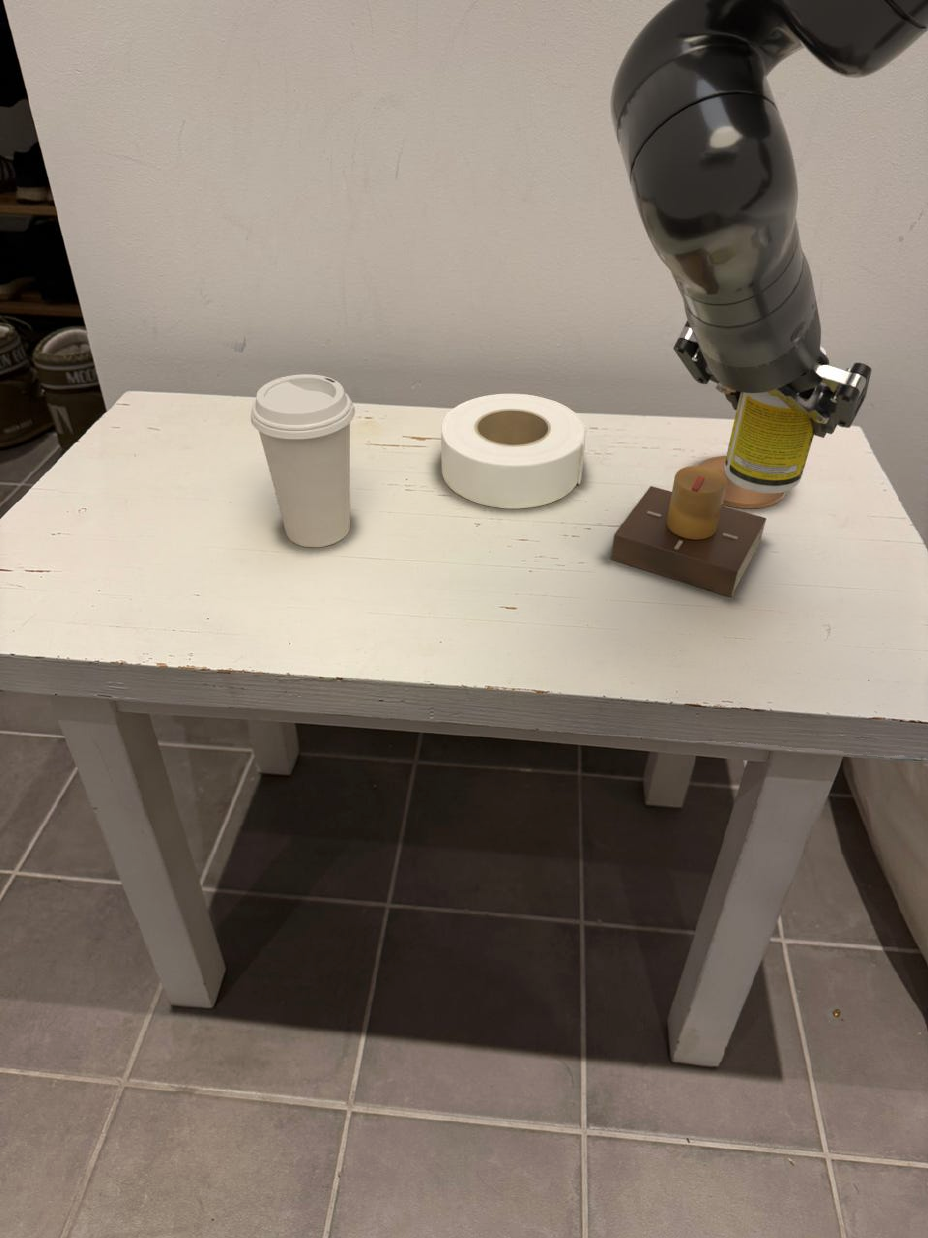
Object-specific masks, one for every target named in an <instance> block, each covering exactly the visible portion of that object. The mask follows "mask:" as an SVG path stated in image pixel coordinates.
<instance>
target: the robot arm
mask: <svg viewBox="0 0 928 1238" xmlns="http://www.w3.org/2000/svg"><path fill="white" fill-rule="evenodd" d="M927 32H928V0H671V1H669V2H668V3H667V4H666V5H665V6H664V7H662V9H660V10H659V11H657V13H655V15H654V16H653V17H652V18H650V20H649V21H648V22H647V23H646V24H644V26H643V28H642V29H641V30H640V32H638V34H637V36H636V37H635V38H634V39H633V41H632V42H631V44H630V46H629V47H628V48H627V50H626V51H627V52H626V53H625V55H624V57H623V58H622V60H621V63H620V65H619V67H618V69H617V72H616V74H615V77H614V81H613V84H612V87H611V94H610V104H609V105H610V117H611V122H612V127H613V130H614V134H615V137H616V141H617V144H618V146H619V147H618V148H619V150H620V154H621V157H622V161H623V164H624V168H625V171H626V174H627V178H628V181H629V184H630V188H631V192H632V196H633V199H634V203H635V205H636V209H637V212H638V215H639V217H640V220H641V222H642V225H643V228H644V230H645V232H646V234H647V237H648V239H649V242H650V243H651V245H652V247H653V249H654V251H655V253H656V255H657V256H658V258H659V259H660V260H661V262H662V263H663V264H664V266H666V267H667V268H668V269H669V270H670V273H671V275H672V278H673V280H674V282H675V285H676V287H677V289H678V291H679V293H680V295H681V298H682V300H683V301H682V302H683V306H684V307H683V308H684V313H685V315H686V319H687V320H686V322H685V323H684V326H683V328H682V330H681V331H680V333H679V335H678V337H677V339H676V342H675V343H674V346H673V351H674V353H675V354H676V355H677V357H678V358H679V359H680V361H681V363H682V364H683V366H684V367H685V368H686V370H687V371H688V372H689V374H690V375H691V377H692V378H693V379H694V380H695V382H697V383H698V384H700V385H701V384H702V385H708V383H709V382H710V381H711V382H713V383H715V384H716V385H715V389H716V390H717V391H718V392H719V393H721V394H724V396H725V399H726V401H728V402H729V404H731V407H732V409H733V410H734V411H737V406H738V402H739V397H740V393H741V392H744V393H762V392H768V393H769V394H770V395H771V396H778V397H779V398H780V399H781V400H782V401H783V402H784V403H785V404H786V405H787V406H789V407H790V408H791V409H792V410H793V411H796V412H805V413H806V414H807V415H808V416H809V417H811V419H810V420H811V424H812V428H813V431H814V436H815V437H818V438H822V439H824V438H825V437H826V435H827V434H829V435H832V434H834V432H835V431H836V429H837V427H841V428H847V429H850V428H851V426H852V424H853V423H854V421H855V418H856V417H857V415H858V413H859V411H860V410H861V407H862V405H863V403H864V401H865V399H866V397H867V394H868V388H869V385H870V381H871V380H870V379H871V374H872V367H870V366H869V365H868V364H866V363H862V362H854V363H853V365H852V367H851V368H850V367H847V368H845V369H841V368H838V367H836V366H832V365H830V360H829V357H828V356H827V354H826V355H825V354H824V353H823V352H822V351H821V350H820V346H821V344H822V343H821V341H822V327H821V325H822V324H821V321H820V319H821V318H820V313H819V309H818V304H817V303H818V301H817V298H816V292H815V285H814V281H813V274H812V272H811V271H812V270H811V267H810V264H809V261H808V259H807V257H806V254H805V252H804V251H803V248H802V243H801V237H800V232H799V231H800V230H799V227H798V220H797V210H798V200H799V188H798V187H799V185H798V178H797V171H796V165H795V161H794V160H795V159H794V155H793V150H792V147H791V143H790V139H789V136H788V132H787V130H786V127H785V124H784V122H783V119H782V116H781V113H780V110H779V108H778V105H777V102H776V99H775V98H774V94H773V92H772V89H771V86H770V84H769V81H768V76H769V75H770V73H771V72H772V71H773V70H775V68H776V67H777V66H778V65H779V64H780V63H782V62H783V61H784V60H786V59H787V58H789V57H790V56H792V55H793V54H795V53H797V52H799V51H801V50H803V49H805V50H806V51H807V52H808V53H809V54H810V55H811V56H812V57H813V58H814V59H815V60H816V61H817V62H819V63H820V64H821V65H822V66H823V67H825V68H826V69H828V70H830V71H831V72H832V73H834V74H837V75H839V76H841V77H845V78H848V79H860V78H866V77H868V76H871V75H873V74H876V73H878V72H879V71H880V70H882V69H884V68H885V67H886V66H888V65H889V64H890V63H892V62H893V61H895V60H896V59H897V58H898V57H900V56H901V55H902V54H903V53H904V52H906V50H908V49H909V48H910V47H912V46H913V45H914V44H915V43H917V41H918V40H919V39H920V38H921V37H923V35H925V34H926V33H927ZM797 393H799V394H797ZM821 393H822V394H823V395H822V397H821V399H820V401H819V403H818V404H817V400H818V398H819V396H820V394H821Z"/></svg>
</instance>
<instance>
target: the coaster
mask: <svg viewBox="0 0 928 1238" xmlns="http://www.w3.org/2000/svg"><path fill="white" fill-rule="evenodd" d="M726 456H727V455H719V456H714V457H710V458H707V459H705V460H703V461H701V462H700V463H698V464H697V466H702V467H708V468H711V469H714V470H716V471H718V472H720V473H721V474H723V475H724V476H725V478H726V479H727V487H726V492H725V496H724V500H723V506H727V507H731V508H737V509H738V508H739V509H762V508H767V507H770V506H773V505H775V504H777V503H779V502H781V501H782V500H783V499H784V497H785V496H786V493H787V491H786V492H782V493H759V492H754V491H750V490H746V489H744V488H741V487H739V486H737V485H736V484H734V483H733V482H732V481H731V480H730V479H729V478H728V477H727V475H726V473H725V461H726Z"/></svg>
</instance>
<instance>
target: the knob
mask: <svg viewBox="0 0 928 1238" xmlns="http://www.w3.org/2000/svg"><path fill="white" fill-rule="evenodd" d="M672 484H673V485H672V489H671V492H672V494H671V500H670V505H669V510H668V516H667V521H666V523H667V527H668V528H669V530H670V531H672V532H673V533H674V534H676V535H678V536H680V537H683V538H687V539H705V538H708V537H711V536H712V535H714V533H715V532H716V530H717V526H718V522H719V518H720V513H721V509H722V506H724V504H723V500H724V496H725V492H726V487H727V479H726V478H725V476H724V475H723V474H721V473H720V472H718V471H716V470H714V469H711V468H708V467H702V466H698V465H689V466H686V467H685V466H684V467H683V468H680V469H679V470H677V471H676V473H675V475H674V479H673V483H672Z"/></svg>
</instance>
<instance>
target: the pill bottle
mask: <svg viewBox="0 0 928 1238" xmlns="http://www.w3.org/2000/svg"><path fill="white" fill-rule="evenodd" d="M820 350H821V351H822V352H823V353H824V354H825V355H826V356H827V352H826V350H825V348H824V347H822V346H821V345H820ZM797 394H799V393H797ZM822 395H823V394H822V393H821V394H820V396H819V398H818V400H817V404H818V403H819V401H820V399H821V397H822ZM735 411H736V412H735V415H734V421H733V425H732V429H731V434H730V438H729V442H728V446H727V451H726V455H725V456H726V461H725V473H726V475H727V477H728V478H729V479H730V480H731V481H732V482H733V483H734V484H736V485H737V486H739V487H741V488H744V489H746V490H750V491H754V492H759V493H782V492H786V493H787V492H789V491H791V490H793V489H794V488H796V487H797V486H798V484H800V482H801V480H802V476H803V473H804V471H805V466H806V463H807V460H808V456H809V454H810V449H811V447H812V444H813V440H814V436H815V435H814V431H813V428H812V424H811V420H810V419H811V417H809V416H808V415H807V414H806V413H805V412H796V411H793V410H792V409H791V408H790V407H789V406H787V405H786V404H785V403H784V402H783V401H782V400H781V399H780V398H779V397H778V396H771V395H770V394H769V393H768V392H762V393H744V392H741V393H740V397H739V402H738V406H737V410H735Z"/></svg>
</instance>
